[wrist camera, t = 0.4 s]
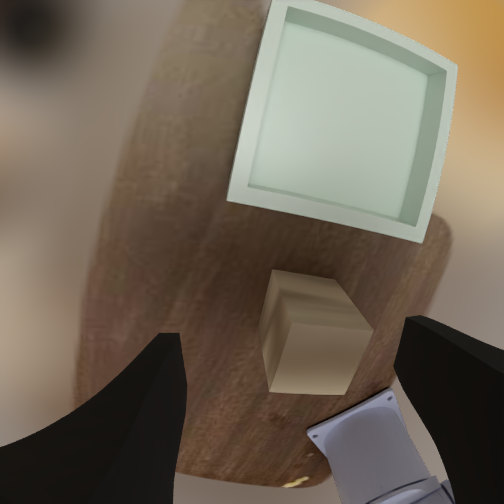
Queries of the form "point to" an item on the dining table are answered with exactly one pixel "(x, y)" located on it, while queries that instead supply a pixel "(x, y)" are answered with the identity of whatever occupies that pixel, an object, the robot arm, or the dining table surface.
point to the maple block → (310, 335)
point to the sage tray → (343, 122)
